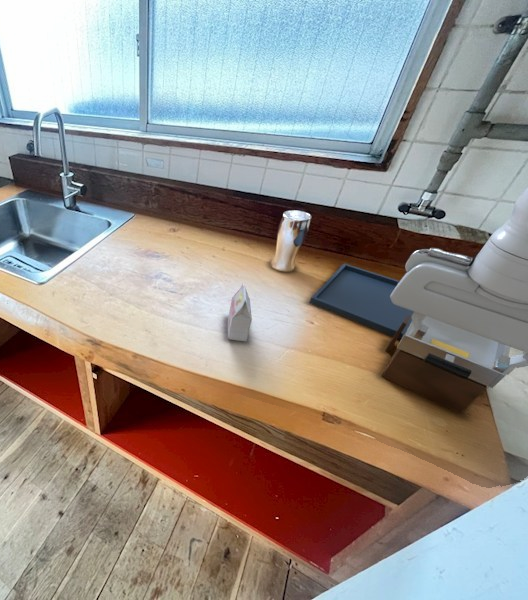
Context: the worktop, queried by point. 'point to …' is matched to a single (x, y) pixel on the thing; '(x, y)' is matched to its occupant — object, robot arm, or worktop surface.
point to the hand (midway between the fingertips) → (455, 351)
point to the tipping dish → (471, 367)
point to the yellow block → (450, 348)
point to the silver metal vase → (290, 239)
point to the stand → (430, 378)
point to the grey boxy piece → (239, 316)
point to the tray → (363, 299)
